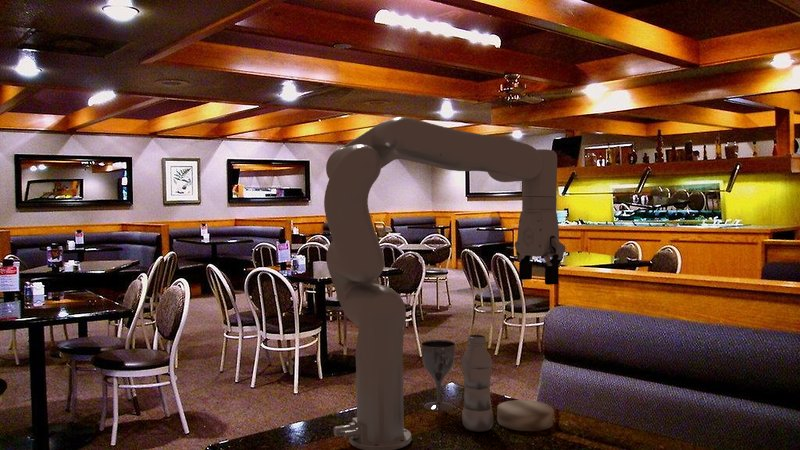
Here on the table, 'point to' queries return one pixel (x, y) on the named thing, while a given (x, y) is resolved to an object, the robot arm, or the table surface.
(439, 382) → the wine glass
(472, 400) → the plastic bottle
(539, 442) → the table surface
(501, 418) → the pedestal
